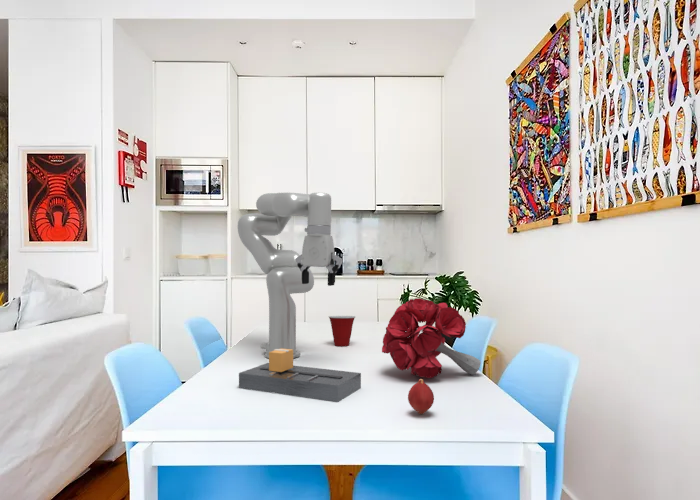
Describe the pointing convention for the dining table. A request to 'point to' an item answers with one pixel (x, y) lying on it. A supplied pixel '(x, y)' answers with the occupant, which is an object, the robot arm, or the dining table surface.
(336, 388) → the block
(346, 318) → the plastic cup
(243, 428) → the dining table surface
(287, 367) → the fader knob
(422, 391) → the onion
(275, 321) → the robot arm
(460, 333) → the bouquet
